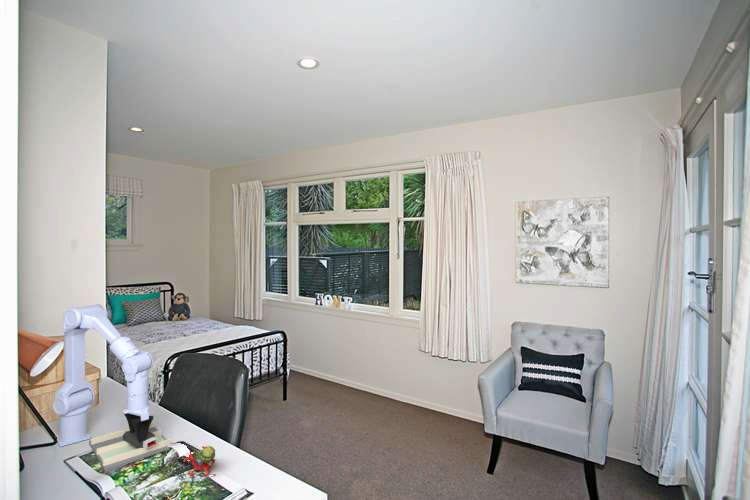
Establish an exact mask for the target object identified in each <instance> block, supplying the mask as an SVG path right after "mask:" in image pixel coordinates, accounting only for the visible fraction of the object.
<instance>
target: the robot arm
mask: <svg viewBox="0 0 750 500" xmlns="http://www.w3.org/2000/svg"><path fill="white" fill-rule="evenodd" d="M108 314H109V312H108V310H107V309H106V308H105V307H104V306H103V305H102V304H100V303H97V304H92V305H85V306H78V307H70V308H68V309H67V310H66V311H65V312H63V314H62V332H63V350H64V351H63V353H64V354H63V355H64V356H63V357H64V358H63V359H64V361H63V362H64V383H63V384H62V385H61V386H60V387H59V388H58V389H57V390H56V391H55V393H54V394H55V395H54V400H53V403H52V409H53V411H54V412H55V414H57V416H59V433H57V434H56V435H55V438H56V437H57V439H56V441H57V444H58V445H59V447H65V446H68V445H71V444H75V443H79V442H82V441H87V440H91V439H92V437H91V435H90V433H89V431H88V420H89V419H88V415H89V413H88V412H89V409H90V408H91V405H92V404H93V403H94V401H95V399H96V396H95V395H96V394H95V392H94V389H93V383H91V382H90V381H87V380H86V350H85V349H86V348H85V347H86V346H85V345H86V344H85V343H86V342H85V341H86V340H85V336H86V335H85V334H86V333H87V331H89V330H91V329H94V330H95V331H96V332H97V333H99V335H100V336H102V337H103V338H104V340H106V342H108V343H109V344H110V345H109V350H110V351H111V353H112V354H114V355H115V357H116V358H117V359H118V361H120V362H121V364H122V365H121V369H122V372H123V374H124V379H125V381H126V408H125V409H123V410H122V413H123V415H124V416H125V418H126V421H127V424H128V429H130V432H131V433H133V432H136V437H137V440H138V442H141V441H144V440H146V438H147V434H148V430H149V426H150V424H151V422H153V420H154V415H150V413H149V411H150V404H149V403H150V402H149V401H150V400H149V396H150V394H149V391H150V390H149V370H150V369H151V368H152V367H153V365H154V364H153V363H154V360H153V357H152V355H151V354H150V352H148V351H145V350H143V349H139V348H138V347H137V346H136V344H135V343H134V342H133V341H132V339H131V338H130V337H128V336H122V335H121V334H120V332H119V331H118V330H117V329H116V327H115V326H114V324H113V323H112V322H111V320H110V319H109V318H108V317H109V315H108Z"/></svg>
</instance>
